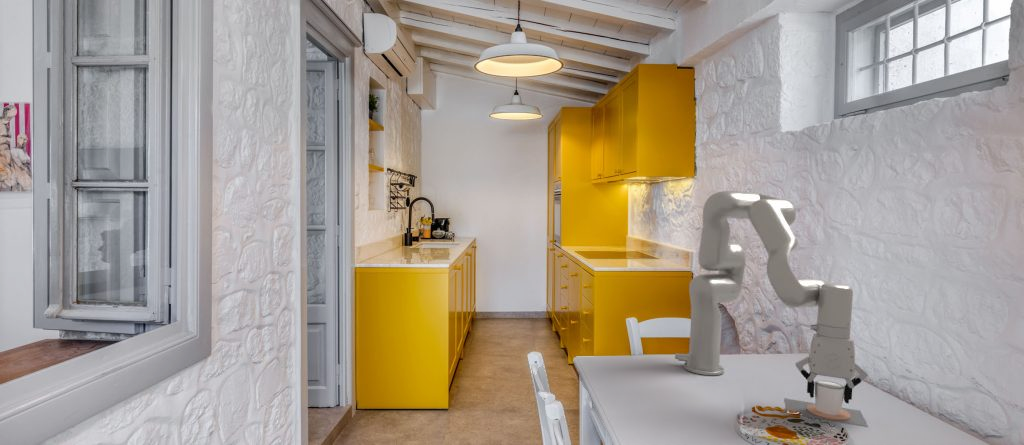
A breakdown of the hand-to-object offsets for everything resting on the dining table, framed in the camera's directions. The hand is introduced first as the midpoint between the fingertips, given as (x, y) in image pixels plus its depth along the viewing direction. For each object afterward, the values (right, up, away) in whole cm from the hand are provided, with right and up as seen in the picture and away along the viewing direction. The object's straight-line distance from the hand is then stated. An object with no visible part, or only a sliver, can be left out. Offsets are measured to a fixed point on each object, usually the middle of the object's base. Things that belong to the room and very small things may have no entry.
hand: (828, 398), depth 143 cm
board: (-1, -5, 0) cm, 5 cm away
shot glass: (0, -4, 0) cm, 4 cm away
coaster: (0, -4, 0) cm, 4 cm away
